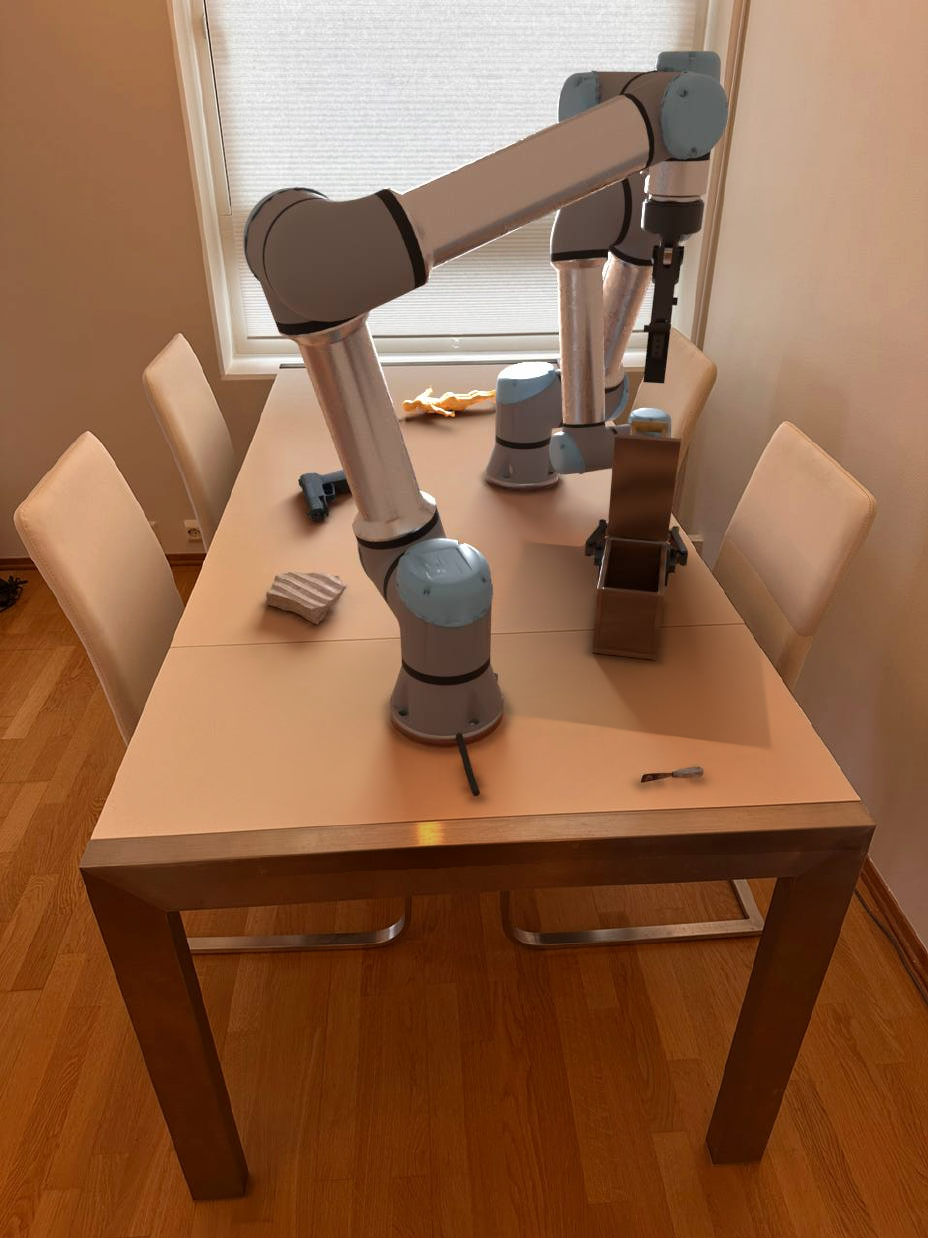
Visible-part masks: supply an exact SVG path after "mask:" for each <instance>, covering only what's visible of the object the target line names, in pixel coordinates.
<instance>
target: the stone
mask: <svg viewBox="0 0 928 1238" xmlns="http://www.w3.org/2000/svg"><path fill="white" fill-rule="evenodd" d="M346 589H347V585H346V583H345V582H343V580H341V579H340V575H332V574H329V573H326V572H320V571H318V572H315V571H314V572H308V573H306V572H300V571H289V572H287V573H281V572H279V573H277V574H275V576H274V579H273V581H272V584H271V587H270V590H268V591H267V592H266V594H265V597H266V600H265V604H266V605H267V606H268V605H269V606H271V607H275V608H278V609H281V610H282V611H289V612H292V613H296V614H297V615H299V616H301V617H302V618H304V619H305V620H307V621H309V622H311V623H312V624H315V625H319V624H320V622H321V621H323V620H324V619H325V618H326V615H327V612H328V611H329V609H330V607H332V606H333V605H334V603H335V602H336V601H338V600H339V599H340V598H341V596H342V595H343V593H344V591H345V590H346Z"/></svg>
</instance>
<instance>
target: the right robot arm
mask: <svg viewBox="0 0 928 1238" xmlns="http://www.w3.org/2000/svg"><path fill="white" fill-rule="evenodd" d="M647 178H648V176H647V175H645V176H644V175H642V174H641V171H640V172H638V173H636V174H634V175H632V176H630V177H628V178H625V179H623V180H621V181H619V182H617V183H615V184H613V185H611V186H608V187H606V188H604V189H602V190H600V191H598V192H596V193H594V194H591V195H589V196H587V197H585V198H583V199H581V200H579V201H577V202H574V203H572V204H570V205H568V206H566V207H564V208H562V209H560V210H557V213H556V215H555V219H554V223H553V226H552V229H551V235H550V244H549V256H550V257H549V258H550V265H551V266H552V267H553V268H554V270H555V271H556V278H557V280H556V281H557V306H558V307H557V308H558V309H557V310H558V333H559V334H558V335H559V336H558V337H559V338H558V339H559V357H557V358H556V361H557V364H558V367H559V369H555V367H554V366H553V365H552V364H551V363H548V362H545V361H544V362H543V361H536V362H534V361H529V362H528V361H527V362H526V361H525V362H522V363H521V362H520V363H517V364H514V365H513V364H512V365H511V366H508V367H506V368H505V369H503V370H502V371H501V372H500V373H499V374H498V376H497V378H496V386H495V392H496V393H495V400H496V403H495V422H494V423H495V425H494V426H495V428H494V429H495V430H494V432H495V434H494V445H493V448H492V451H491V453H490V457H489V459H488V462H487V465H486V469H485V479H486V481H487V483H489V484H490V485H492V486H493V487H494V488H497V489H500V490H503V491H507V492H515V493H532V492H533V493H534V492H540V491H543V490H547V489H549V488H551V487H553V486H556V484H557V483H558V481H559V474H560V475H574V474H579V475H582V474H586V473H592V472H598V471H605V470H606V471H607V470H612V466H613V453H614V440H615V434H623V435H631V431H630V429H631V421H632V420H637V421H652V422H667V423H668V432H667V433H666V438H672V417H671V415H670V414H669V413H668V412H666V411H665V410H663V409H660V408H654V407H641V408H637V409H634V410H632V411H631V412H630V414H629V419H628V421H627V423H625V424H616V425H609V426H606V423H607V422H612V421H614V420H617V419H618V418H619V417H620V416H621V415H622V414H623V412H624V410H625V408H626V407H627V405H628V401H629V397H630V396H629V395H630V394H629V392H628V391H629V390H630V382H629V376H628V374H627V372H626V369H625V366H624V364H623V362H622V361H623V358H624V355H625V353H626V350H627V347H628V345H629V342H630V339H631V337H632V334H633V331H634V328H635V325H636V322H637V320H638V316H639V314H640V312H641V309H642V306H643V303H644V300H645V298H646V295H647V293H648V292H647V291H648V289H649V287H650V284H651V282H652V270H653V264H652V253H653V247H654V245H660V240H661V238H660V234H652V233H648V232H645V231H643V230H642V228H641V222H642V211H643V202H644V201H645V199H646V198H649V195H648V194H646V192H645V183H646V179H647ZM692 236H693V234H689V235H685V234H682V235H681V237H680V239H679V244H682V243H683V242H685V241H688V240H689V239H690V238H691V237H692ZM561 428H562V429H561ZM554 429H561V431H559V432H556V433H554V434H553V430H554ZM661 434H662V433H655V432H640V431H636V434H635V435H637V436H651V437H661ZM607 531H608V522H607V520H606V519H604V518H601V519H599V520H598V526H596V528H595V529H594V530H593V532H592V533H591V534H590V535H589V536H588V538H587V539H586V540H585V544H584V554H583V555H584V556H585V557H587V558H588V557H592V556H593V562H592V564H593V566H595V567H598V572H597V580H598V581H599V577H600V572H601V567H602V562H603V556H604V551H605V546H606V540H607V537H612V538H622V539H633V540H644V541H655V542H667V553H666V570H665V587H664V588H667V587H668V580H669V575H670V574H674V575H675V573H676V570H677V565H678V566H682V567H685V566H687V563H688V557H689V550H688V548H687V546H686V544H685V542H684V540H683V538H682V536H681V534H680V527H679V526H678V525H673V526H672V527H671V528H669V533H668V540H667V541H661V540H650V539H639V538H628V537H617V536H607Z"/></svg>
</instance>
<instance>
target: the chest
mask: <svg viewBox="0 0 928 1238" xmlns="http://www.w3.org/2000/svg"><path fill="white" fill-rule="evenodd" d="M667 543H668V542H667V541H666V542H655V541H644V540H633V539H622V538H612V537H607V540H606V546H605V551H604V556H603V562H602V567H601V572H600V577H599V580H598V582H597V583H598V584H597V589H596V599H595V610H594V611H595V612H594V622H593V635H592V646H591V653H592V654H593V653H594V654H602V655H610V656H619V657H628V658H637V659H644V660H653V661H656V660H657V659H656V658H657V654H658V653H657V652H658V644H659V636H660V628H661V622H662V614H663V607H664V598H665V588H666V587H665V570H666V553H667Z"/></svg>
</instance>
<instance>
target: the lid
mask: <svg viewBox="0 0 928 1238" xmlns="http://www.w3.org/2000/svg"><path fill="white" fill-rule="evenodd" d="M630 431H631V435H623V434H615V440H614V453H613V466H612V469H611V481H610V494H609V505H608V506H609V507H608V519H607V523H608V531H607V536H617V537H628V538H639V539H650V540H661V541H666V542H667V540H668V533H669V529H670V526H671V525H670V524H671V518H672V510H673V505H674V504H673V502H674V497H675V496H674V495H675V488H676V481H677V474H678V466H679V459H680V451H681V445H682V444H681V443H682V438H677V437H671V438H666V433H667V432H668V423H667V422H652V421H637V420H632V421H631V429H630ZM636 431H640V432H655V433H662V434H661V437H651V436H637V435H635V434H636Z"/></svg>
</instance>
